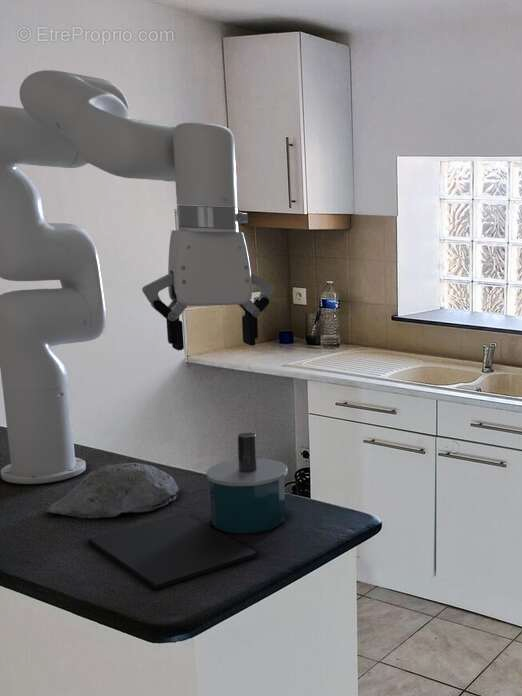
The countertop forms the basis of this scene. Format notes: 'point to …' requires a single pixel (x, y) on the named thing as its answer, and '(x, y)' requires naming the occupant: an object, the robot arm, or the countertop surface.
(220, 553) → the mat
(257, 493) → the pot
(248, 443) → the lid
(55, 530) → the countertop surface
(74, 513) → the stone
